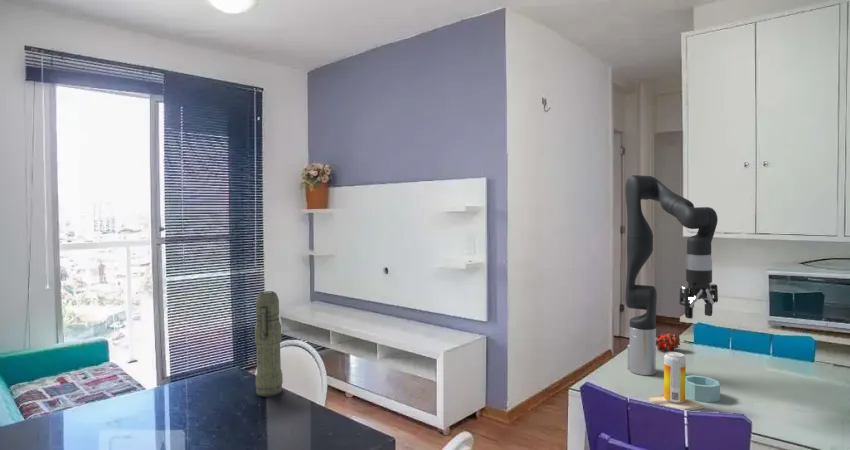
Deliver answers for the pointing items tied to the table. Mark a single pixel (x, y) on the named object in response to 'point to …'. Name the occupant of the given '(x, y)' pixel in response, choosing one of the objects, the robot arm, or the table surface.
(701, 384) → the can holder
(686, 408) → the birch board
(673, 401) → the beer can
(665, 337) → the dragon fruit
